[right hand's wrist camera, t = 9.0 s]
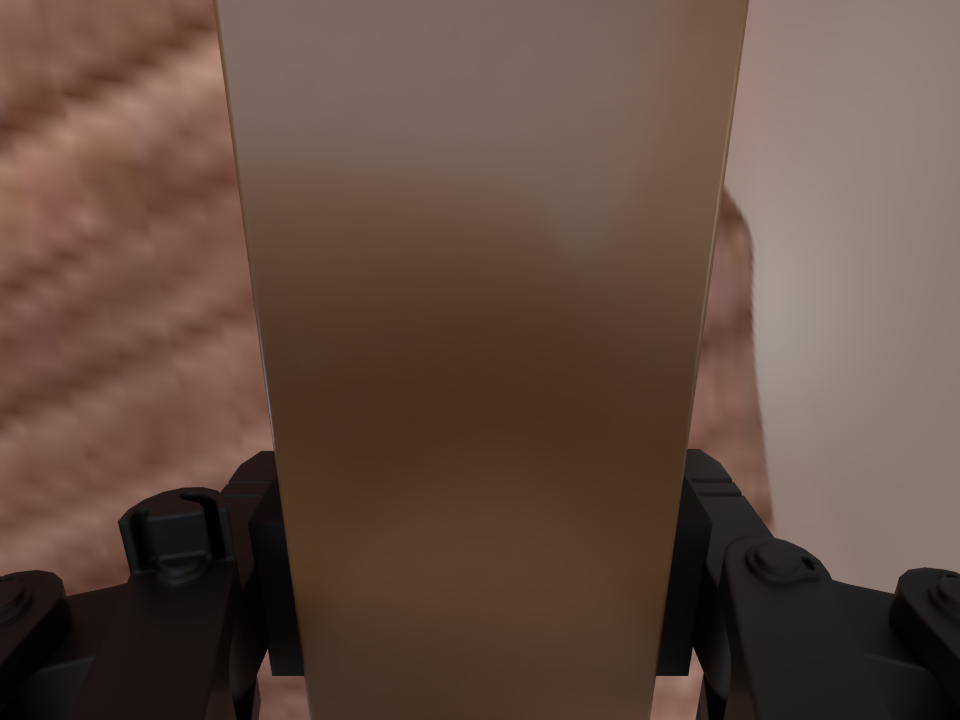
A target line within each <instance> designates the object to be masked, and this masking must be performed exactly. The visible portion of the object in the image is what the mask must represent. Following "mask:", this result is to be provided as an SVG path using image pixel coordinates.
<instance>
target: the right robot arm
mask: <svg viewBox="0 0 960 720" xmlns="http://www.w3.org/2000/svg"><path fill="white" fill-rule="evenodd" d="M118 524H119V528H120V532H121V536H122V540H123V544H124V548H125V552H126V556H127V560H128V564H129V568H130V572H131V575H130V577H129V580H128V582H127V583H124V584H121V585H117V586H114V587H109V588H104V589H100V590H95V591H90V592H86V593H81V594H76V595H71V596H67V595H66V592H65V589H64V585H63V582H62V580H61V579H60V578H59V577H58V576H56V575H55V574H54V573H52V572H46V571H40V570H32V571H24V572H15V573H12V574H7V575H4V576H2V577H1V576H0V720H259V710H260V701H261V699H260V692H259V686H258V680H257V673H258V671H259V669H260V666H261V664H262V661H263V659H264V656H265V654H266V652H267V649H268V653H269V659H270V665H271V671H272V676H305V675H304V668H303V660H302V653H301V646H300V638H299V631H298V624H297V616H296V609H295V601H294V594H293V587H292V579H291V572H290V564H289V557H288V550H287V542H286V535H285V527H284V520H283V513H282V505H281V498H280V491H279V483H278V476H277V468H276V461H275V454H274V451H261V452H259V453H258V454H256V455H255V456H253V457H252V458H250V459H249V460H247V461H246V462H244V463H243V464H241V465H240V466H239V468H238V469H237V471H236V472H235V473H234V475H233V476H232V478H231V479H230V480H229V484H227V485H226V486H225V487H224V489H223V490H222V491H221V493H220V492H218V491H217V490H212V489H208V488H204V487H191V488H180V489H175V490H171V491H166V492H162V493H160V494H157V495H155V496H152V497H150V498H147V499H145V500H143V501H141V502H140V503H138V504H137V505H135V506H134V507H132V508H130V509H129V510H128V511H127V512H126V513H125V514H124V515H123V516H122V518H121V519H120V520H119V521H118ZM693 648H694V650H695V652H696V655H697V657H698V660H699V662H700V664H701V667H702V669H703V672H704V674H703V680H702V686H701V692H700V697H699V703H698V709H697V715H696V720H960V574H958V573H957V572H953V571H948V570H943V569H934V568H926V567H924V568H918V569H912V570H908V571H907V572H905V573H904V574H903V575H902V576H900V577H899V580H898V584H897V587H896V590H895V594H892V593H887V592H883V591H878V590H873V589H868V588H863V587H859V586H854V585H849V584H845V583H842V582H838V581H835V580H832V579H831V576H830V574H829V572H828V571H827V570H826V568H825V567H824V566H823V564H822V563H821V561H820V560H818V559H817V558H816V557H814V556H813V555H812V554H810V553H809V552H808V551H806V550H805V549H803V548H801V547H799V546H796V545H794V544H792V543H790V542H788V541H785V540H781V539H777V538H774V537H773V535H772V534H771V533H770V531H769V530H768V528H767V527H766V526H765V524H764V523H763V521H762V520H761V519H760V517H759V516H758V515H757V513H756V512H755V510H754V509H753V508H752V506H751V505H750V503H749V502H748V501H747V499H746V498H745V497H744V496H742V492H741V491H740V490H739V488H738V487H737V486H736V484H735V483H734V482H732V479H731V477H730V476H729V474H728V473H727V472H726V470H725V469H724V468H723V466H722V465H721V463H719V462H718V461H716V460H715V459H713V458H712V457H710V456H709V455H707V454H706V453H704V452H703V451H701V450H700V449H687V454H686V461H685V468H684V476H683V483H682V490H681V497H680V505H679V512H678V519H677V526H676V534H675V541H674V548H673V555H672V563H671V570H670V577H669V584H668V592H667V599H666V606H665V613H664V621H663V628H662V635H661V642H660V650H659V657H658V664H657V671H656V676H688V674H689V667H690V661H691V655H692V649H693Z"/></svg>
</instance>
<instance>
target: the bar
mask: <svg viewBox="0 0 960 720" xmlns="http://www.w3.org/2000/svg"><path fill="white" fill-rule="evenodd" d="M213 3H214V10H215V18H216V25H217V32H218V40H219V47H220V55H221V62H222V69H223V77H224V84H225V92H226V99H227V106H228V114H229V121H230V129H231V136H232V143H233V151H234V158H235V165H236V173H237V180H238V188H239V195H240V202H241V210H242V217H243V225H244V232H245V239H246V247H247V254H248V261H249V269H250V276H251V284H252V291H253V298H254V306H255V313H256V321H257V328H258V335H259V343H260V350H261V358H262V365H263V372H264V380H265V387H266V394H267V402H268V409H269V417H270V424H271V431H272V439H273V446H274V454H275V461H276V468H277V476H278V483H279V491H280V498H281V505H282V513H283V520H284V527H285V535H286V542H287V550H288V557H289V564H290V572H291V579H292V587H293V594H294V601H295V609H296V616H297V624H298V631H299V638H300V646H301V653H302V660H303V668H304V675H305V683H306V690H307V697H308V705H309V712H310V720H650V715H651V707H652V700H653V693H654V686H655V678H656V671H657V664H658V657H659V650H660V642H661V635H662V628H663V621H664V613H665V606H666V599H667V592H668V584H669V577H670V570H671V563H672V555H673V548H674V541H675V534H676V526H677V519H678V512H679V505H680V497H681V490H682V483H683V476H684V468H685V461H686V454H687V447H688V440H689V432H690V425H691V418H692V411H693V403H694V396H695V389H696V382H697V374H698V367H699V360H700V353H701V345H702V338H703V331H704V324H705V316H706V309H707V302H708V295H709V287H710V280H711V273H712V266H713V258H714V251H715V244H716V237H717V230H718V222H719V215H720V208H721V201H722V193H723V186H724V179H725V172H726V164H727V157H728V150H729V142H730V135H731V128H732V121H733V114H734V106H735V99H736V92H737V84H738V77H739V70H740V63H741V55H742V48H743V41H744V34H745V27H746V19H747V12H748V5H749V0H213Z"/></svg>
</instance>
